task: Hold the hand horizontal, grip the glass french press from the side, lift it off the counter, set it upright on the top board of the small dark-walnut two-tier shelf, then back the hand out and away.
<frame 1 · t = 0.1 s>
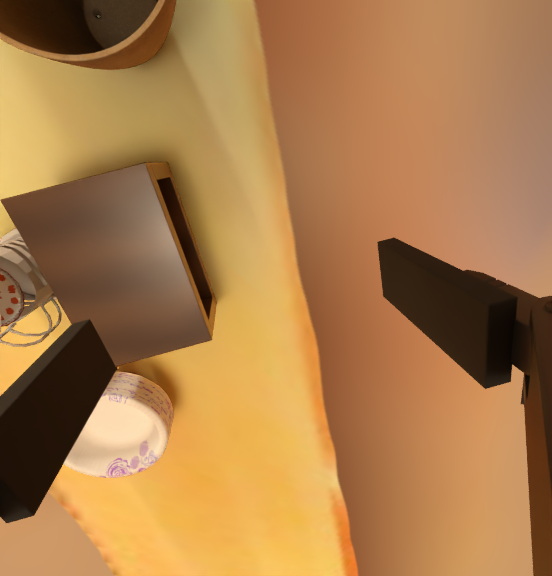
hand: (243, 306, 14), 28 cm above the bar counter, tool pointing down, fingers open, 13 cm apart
shelf: (145, 252, 40), on the bar counter
plant pot: (128, 19, 32), on the bar counter
paper bowls: (127, 397, 48), on the bar counter
french press: (47, 269, 40), on the bar counter
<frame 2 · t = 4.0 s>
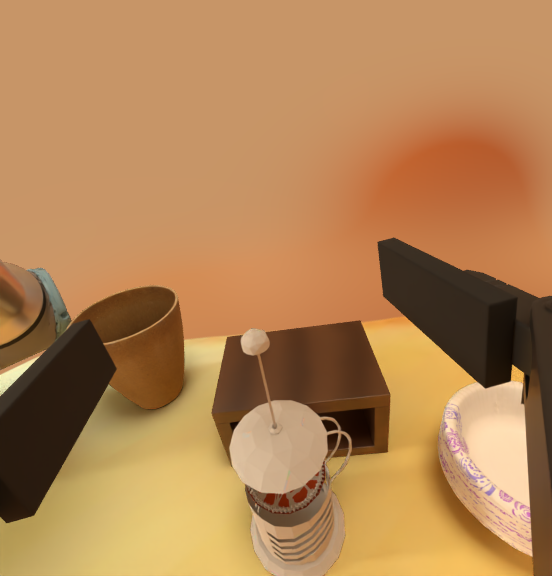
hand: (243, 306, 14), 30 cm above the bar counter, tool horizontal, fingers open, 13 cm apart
shelf: (303, 414, 43), on the bar counter
plant pot: (161, 390, 52), on the bar counter
paper bowls: (516, 489, 32), on the bar counter
french press: (304, 517, 33), on the bar counter
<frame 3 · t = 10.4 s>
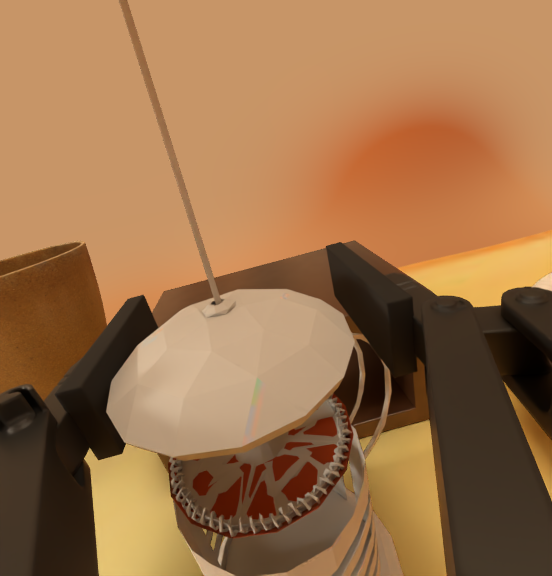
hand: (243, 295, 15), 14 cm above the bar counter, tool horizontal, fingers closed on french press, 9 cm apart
shelf: (293, 390, 28), on the bar counter
plant pot: (80, 401, 34), on the bar counter
french press: (316, 558, 16), on the bar counter, touching gripper
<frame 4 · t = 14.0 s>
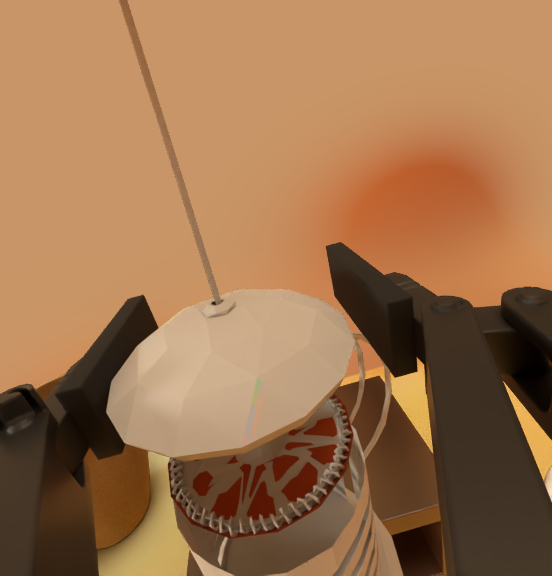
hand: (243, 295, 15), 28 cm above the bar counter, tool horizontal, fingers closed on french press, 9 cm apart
shelf: (325, 523, 30), on the bar counter
plant pot: (121, 511, 37), on the bar counter
french press: (316, 558, 16), point 14 cm above the bar counter, touching gripper
when the fingers open (23 cm above the bar counter, at t = 17.9 s): french press stays where it is, resting on shelf.
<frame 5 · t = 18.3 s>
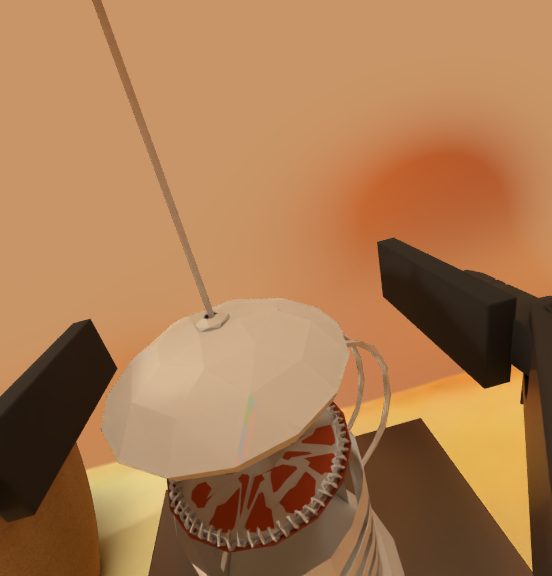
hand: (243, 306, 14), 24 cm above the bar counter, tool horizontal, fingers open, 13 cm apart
french press: (319, 562, 16), point 10 cm above the bar counter, touching shelf
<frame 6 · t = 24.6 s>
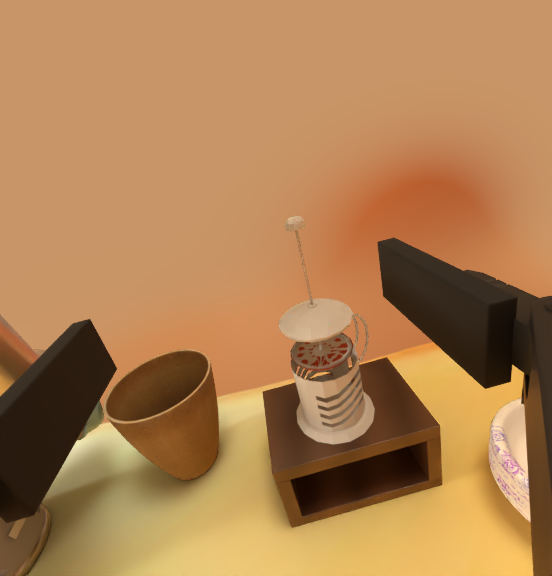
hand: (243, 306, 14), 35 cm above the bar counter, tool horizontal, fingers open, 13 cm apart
shelf: (349, 459, 44), on the bar counter
plant pot: (196, 457, 50), on the bar counter
french press: (339, 407, 40), point 10 cm above the bar counter, touching shelf
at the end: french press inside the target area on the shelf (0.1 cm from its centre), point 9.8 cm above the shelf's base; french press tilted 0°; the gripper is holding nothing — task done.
